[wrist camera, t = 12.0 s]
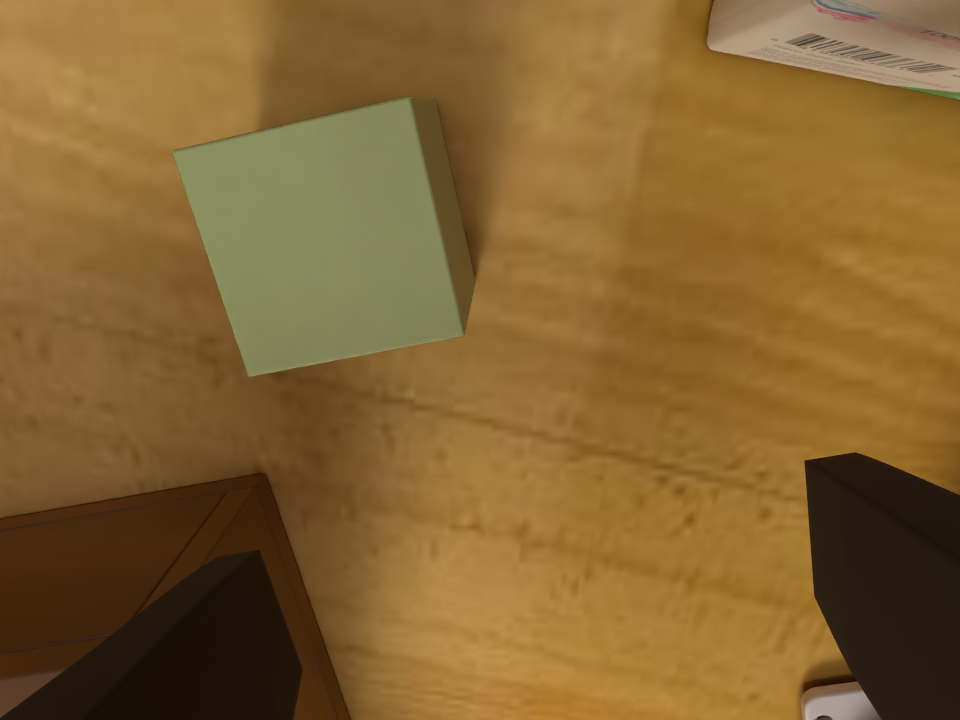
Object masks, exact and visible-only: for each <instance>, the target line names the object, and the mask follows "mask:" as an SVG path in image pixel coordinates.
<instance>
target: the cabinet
mask: <svg viewBox="0 0 960 720" xmlns="http://www.w3.org/2000/svg"><path fill="white" fill-rule="evenodd" d="M254 550H260V552H261V555H262V557H263V560H264V563H265V566H266V568H267V571H268V574H269V577H270V579H271V582H272V585H273V588H274V590H275V593H276V596H277V599H278V601H279V604H280V607H281V610H282V612H283V615H284V618H285V621H286V623H287V626H288V629H289V632H290V634H291V637H292V640H293V643H294V645H295V648H296V651H297V654H298V656H299V659H300V662H301V665H302V668H303V672H302V677H301V683H300V688H299V693H298V698H297V703H296V709H295V713H294V718H293V720H350V718H349V715H348V712H347V709H346V706H345V704H344V701H343V698H342V695H341V692H340V689H339V686H338V683H337V681H336V678H335V675H334V672H333V669H332V666H331V663H330V660H329V657H328V655H327V652H326V649H325V646H324V643H323V640H322V637H321V634H320V631H319V629H318V626H317V623H316V620H315V617H314V614H313V611H312V608H311V606H310V603H309V600H308V597H307V594H306V591H305V588H304V585H303V582H302V580H301V577H300V574H299V571H298V568H297V565H296V562H295V559H294V557H293V554H292V551H291V548H290V545H289V542H288V539H287V536H286V533H285V531H284V528H283V525H282V522H281V519H280V516H279V513H278V510H277V507H276V505H275V502H274V499H273V496H272V493H271V490H270V487H269V484H268V482H267V479H266V476H265V474H257V475H252V476H246V477H240V478H234V479H229V480H223V481H217V482H212V483H206V484H200V485H195V486H189V487H183V488H177V489H172V490H166V491H160V492H155V493H149V494H143V495H137V496H132V497H126V498H120V499H115V500H109V501H103V502H97V503H92V504H86V505H80V506H75V507H69V508H63V509H57V510H52V511H46V512H40V513H35V514H29V515H23V516H17V517H12V518H6V519H0V718H1V717H2V716H3V715H5V714H6V713H7V712H9V711H10V710H11V709H13V708H14V707H15V706H17V705H18V704H20V703H21V702H22V701H24V700H25V699H26V698H28V697H29V696H30V695H32V694H33V693H35V692H36V691H37V690H39V689H40V688H41V687H43V686H44V685H45V684H47V683H48V682H49V681H51V680H52V679H54V678H55V677H56V676H58V675H59V674H60V673H62V672H63V671H64V670H66V669H67V668H69V667H70V666H71V665H73V664H74V663H75V662H77V661H78V660H79V659H81V658H82V657H83V656H85V655H86V654H87V653H88V652H90V651H91V650H92V649H94V648H95V647H96V646H97V645H99V644H100V643H101V642H103V641H104V640H105V639H106V638H108V637H109V636H110V635H112V634H113V633H114V632H115V631H117V630H118V629H119V628H121V627H122V626H123V625H124V624H126V623H127V622H128V621H130V620H131V619H132V618H133V617H135V616H136V615H137V614H139V613H140V612H141V611H142V610H144V609H145V608H146V607H148V606H149V605H150V604H151V603H153V602H154V601H155V600H157V599H158V598H159V597H161V596H162V595H163V594H164V593H166V592H167V591H168V590H170V589H171V588H172V587H174V586H175V585H176V584H178V583H179V582H180V581H182V580H183V579H184V578H186V577H187V576H189V575H190V574H191V573H193V572H194V571H196V570H197V569H199V568H200V567H202V566H203V565H205V564H206V563H208V562H209V561H211V560H213V559H214V558H216V557H218V556H223V555H229V554H235V553H241V552H248V551H254Z"/></svg>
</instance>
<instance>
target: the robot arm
mask: <svg viewBox="0 0 960 720" xmlns="http://www.w3.org/2000/svg"><path fill="white" fill-rule="evenodd" d="M805 472H806V486H807V500H808V513H809V527H810V541H811V555H812V569H813V582H814V596H815V598H816V600H817V603H818V605H819V607H820V609H821V611H822V613H823V615H824V618H825V620H826V622H827V624H828V626H829V628H830V630H831V633H832V635H833V637H834V639H835V641H836V643H837V645H838V647H839V649H840V651H841V653H842V655H843V657H844V659H845V661H846V663H847V665H848V667H849V669H850V671H851V672H852V674H853V676H854V677H855V679H856V680H857V682H850V683H842V684H834V685H827V686H819V687H814V688H810V689H809V690H807V691H806V692H805V693H804V694H803V695H802V697H801V714H802V720H960V495H958V494H955V493H953V492H951V491H949V490H946V489H944V488H942V487H939V486H937V485H935V484H932V483H930V482H928V481H926V480H923V479H921V478H919V477H916V476H914V475H912V474H909V473H907V472H905V471H902V470H900V469H898V468H895V467H893V466H890V465H888V464H886V463H883V462H881V461H878V460H876V459H873V458H870V457H867V456H865V455H862V454H859V453H856V452H855V453H849V454H843V455H837V456H830V457H824V458H818V459H812V460H806V461H805ZM302 672H303V668H302V665H301V662H300V659H299V656H298V654H297V651H296V648H295V645H294V643H293V640H292V637H291V634H290V632H289V629H288V626H287V623H286V621H285V618H284V615H283V612H282V610H281V607H280V604H279V601H278V599H277V596H276V593H275V590H274V588H273V585H272V582H271V579H270V577H269V574H268V571H267V568H266V566H265V563H264V560H263V557H262V555H261V552H260V550H254V551H248V552H241V553H235V554H229V555H223V556H218V557H216V558H214V559H213V560H211V561H209V562H208V563H206V564H205V565H203V566H202V567H200V568H199V569H197V570H196V571H194V572H193V573H191V574H190V575H189V576H187V577H186V578H184V579H183V580H182V581H180V582H179V583H178V584H176V585H175V586H174V587H172V588H171V589H170V590H168V591H167V592H166V593H164V594H163V595H162V596H161V597H159V598H158V599H157V600H155V601H154V602H153V603H151V604H150V605H149V606H148V607H146V608H145V609H144V610H142V611H141V612H140V613H139V614H137V615H136V616H135V617H133V618H132V619H131V620H130V621H128V622H127V623H126V624H124V625H123V626H122V627H121V628H119V629H118V630H117V631H115V632H114V633H113V634H112V635H110V636H109V637H108V638H106V639H105V640H104V641H103V642H101V643H100V644H99V645H97V646H96V647H95V648H94V649H92V650H91V651H90V652H88V653H87V654H86V655H85V656H83V657H82V658H81V659H79V660H78V661H77V662H75V663H74V664H73V665H71V666H70V667H69V668H67V669H66V670H64V671H63V672H62V673H60V674H59V675H58V676H56V677H55V678H54V679H52V680H51V681H49V682H48V683H47V684H45V685H44V686H43V687H41V688H40V689H39V690H37V691H36V692H35V693H33V694H32V695H30V696H29V697H28V698H26V699H25V700H24V701H22V702H21V703H20V704H18V705H17V706H15V707H14V708H13V709H11V710H10V711H9V712H7V713H6V714H5V715H3V716H2V717H1V718H0V720H293V718H294V713H295V709H296V703H297V698H298V693H299V688H300V683H301V677H302ZM822 715H825V716H824V717H821V718H818V717H819V716H822Z"/></svg>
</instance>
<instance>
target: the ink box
mask: <svg viewBox="0 0 960 720" xmlns="http://www.w3.org/2000/svg"><path fill="white" fill-rule="evenodd" d="M707 45H708V47H709V48H710V49H711V50H714V51H719V52H724V53H730V54H735V55H741V56H746V57H751V58H756V59H761V60H766V61H771V62H776V63H781V64H786V65H791V66H796V67H801V68H806V69H811V70H816V71H821V72H826V73H831V74H836V75H841V76H846V77H851V78H856V79H861V80H866V81H871V82H876V83H881V84H885V85H890V86H895V87H900V88H905V89H910V90H914V91H919V92H924V93H929V94H933V95H937V96H943V97H948V98H952V99H957V100H960V0H714V2H713V6H712V10H711V15H710V20H709V30H708V38H707Z"/></svg>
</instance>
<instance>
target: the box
mask: <svg viewBox="0 0 960 720" xmlns="http://www.w3.org/2000/svg"><path fill="white" fill-rule="evenodd" d="M173 156H174V159H175V162H176V165H177V167H178V170H179V173H180V176H181V179H182V182H183V185H184V188H185V191H186V194H187V197H188V200H189V203H190V206H191V209H192V212H193V215H194V218H195V221H196V224H197V226H198V229H199V232H200V235H201V238H202V241H203V244H204V247H205V250H206V253H207V256H208V259H209V262H210V265H211V268H212V271H213V274H214V277H215V280H216V283H217V285H218V288H219V291H220V294H221V297H222V300H223V303H224V306H225V309H226V312H227V315H228V318H229V321H230V324H231V327H232V330H233V333H234V336H235V339H236V342H237V344H238V347H239V350H240V353H241V356H242V359H243V362H244V365H245V368H246V371H247V374H248V376H257V375H262V374H267V373H272V372H278V371H283V370H288V369H293V368H299V367H304V366H309V365H314V364H320V363H325V362H330V361H335V360H341V359H346V358H351V357H356V356H362V355H367V354H372V353H377V352H382V351H388V350H393V349H398V348H403V347H409V346H414V345H419V344H424V343H430V342H435V341H440V340H445V339H451V338H456V337H461V336H463V335H464V334H465V329H466V325H467V320H468V315H469V310H470V306H471V301H472V296H473V291H474V287H475V282H476V281H475V277H474V272H473V267H472V263H471V258H470V254H469V249H468V245H467V240H466V235H465V231H464V226H463V222H462V217H461V212H460V208H459V203H458V199H457V194H456V190H455V185H454V180H453V176H452V171H451V167H450V162H449V158H448V153H447V148H446V144H445V139H444V135H443V130H442V126H441V121H440V116H439V112H438V107H437V103H436V100H434V99H425V98H416V97H403V98H398V99H394V100H390V101H385V102H381V103H376V104H372V105H368V106H363V107H359V108H355V109H350V110H346V111H342V112H337V113H333V114H329V115H324V116H320V117H316V118H311V119H307V120H303V121H298V122H294V123H290V124H285V125H281V126H277V127H272V128H268V129H264V130H259V131H255V132H251V133H246V134H242V135H238V136H233V137H229V138H224V139H220V140H216V141H211V142H207V143H203V144H198V145H194V146H190V147H185V148H181V149H177V150H174V151H173Z"/></svg>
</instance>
